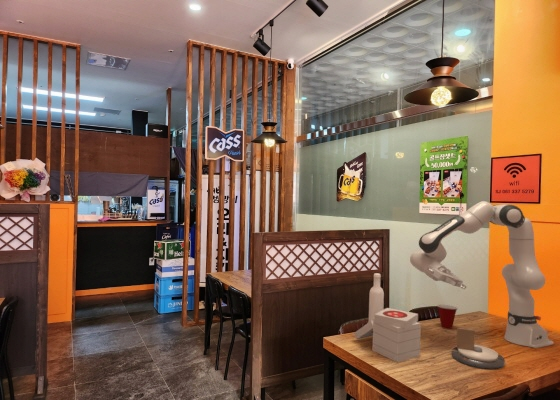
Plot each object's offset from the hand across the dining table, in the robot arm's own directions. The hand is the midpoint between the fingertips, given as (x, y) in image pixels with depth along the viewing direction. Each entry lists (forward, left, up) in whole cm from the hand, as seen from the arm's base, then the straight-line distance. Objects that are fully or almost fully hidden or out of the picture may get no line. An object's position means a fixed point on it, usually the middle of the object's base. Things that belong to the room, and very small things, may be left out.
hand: (460, 286), depth 182 cm
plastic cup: (-17, -31, -31) cm, 47 cm away
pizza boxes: (+34, -7, -31) cm, 46 cm away
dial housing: (-1, +11, -30) cm, 32 cm away
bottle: (+25, -35, -31) cm, 53 cm away
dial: (-1, +11, -28) cm, 30 cm away
